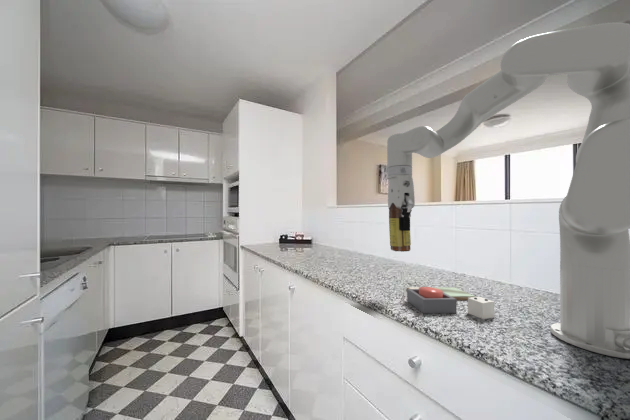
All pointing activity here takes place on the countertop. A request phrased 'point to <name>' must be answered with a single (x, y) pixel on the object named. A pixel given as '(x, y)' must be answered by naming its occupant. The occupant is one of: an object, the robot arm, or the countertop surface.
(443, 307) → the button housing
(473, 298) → the die
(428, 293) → the dome button
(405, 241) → the sauce bottle
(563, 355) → the countertop surface
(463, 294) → the board
